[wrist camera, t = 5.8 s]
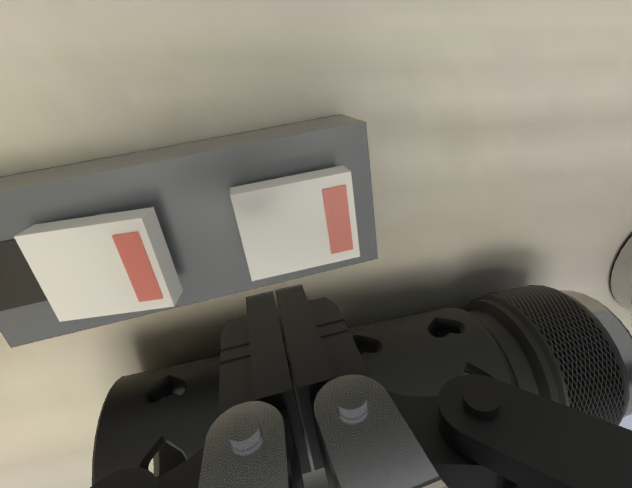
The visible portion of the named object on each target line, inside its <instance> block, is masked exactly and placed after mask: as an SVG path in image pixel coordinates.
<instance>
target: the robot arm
mask: <svg viewBox="0 0 632 488" xmlns="http://www.w3.org/2000/svg"><path fill="white" fill-rule="evenodd" d="M611 291H612V294H613V296H614V298H615V300H616V301H617V302H618V303H619V304H620V305H622V306H624V307H625V308H627V309H629V310H631V311H632V236H631V237H630V239H629V240H628V241H627V243H626V244H625V246H624V247H623V248H622V250H621V252H620V254H619V256H618V258H617V260H616V262H615V265H614V268H613V271H612V275H611ZM275 293H276V297H277V302H278V306H279V311H280V315H281V320H282V325H283V329H284V334H285V338H286V343H287V347H288V352H289V356H290V361H291V365H292V370H293V374H294V379H295V383H296V388H297V393H298V397H299V402H300V406H301V411H302V415H303V420H304V424H305V429H306V433H307V438H308V442H309V447H310V451H311V456H312V460H313V465H314V469H315V470H318V469H321V468H324V469H325V473H326V477H327V481H328V485H329V488H632V431H631V430H629V429H626V428H623V427H621V426H618V425H615V424H613V423H610V422H607V421H605V420H602V419H600V418H597V417H594V416H592V415H589V414H586V413H584V412H581V411H578V410H576V409H573V408H571V407H568V406H565V405H563V404H560V403H557V402H555V401H552V400H549V399H547V398H544V397H542V396H539V395H536V394H534V393H531V392H528V391H526V390H523V389H520V388H518V387H515V386H513V385H510V384H507V383H505V382H502V381H499V380H497V379H494V378H491V377H488V376H483V375H476V374H466V375H460V376H457V377H454V378H452V379H450V380H449V381H447V382H446V383H445V384H444V385H443V386H442V388H441V389H440V392H439V395H438V396H405V395H399V394H396V393H393V392H390V391H388V390H386V389H385V388H384V387H383V386H382V385H381V384H380V383H379V382H377V381H376V380H374V379H373V378H372V377H371V375H370V373H369V371H368V369H367V367H366V365H365V363H364V361H363V359H362V357H361V355H360V352H359V350H358V348H357V346H356V344H355V342H354V340H353V338H352V336H351V334H350V332H349V330H348V327H347V325H346V323H345V322H344V319H343V317H342V315H341V313H340V311H339V309H338V307H337V306H336V305H335V304H333V303H332V302H330V301H329V300H327V299H326V298H321V299H317V300H313V301H309V302H308V301H307V298H306V296H305V293H304V290H303V287H302V285H301V284H300V285H296V286H291V287H287V288H283V289H279V290H275ZM246 309H247V317H243V318H239V319H234V320H230V321H229V322H228V324H227V325H226V327H225V329H224V330H223V332H222V334H221V342H220V351H221V353H220V379H219V415H218V418H217V419H216V420H215V422H214V423H213V424H212V426H211V427H210V429H209V431H208V433H207V436H206V440H205V445H204V446H203V447H202V448H201V449H200V450H199V451H198V452H197V453H196V454H194V455H193V456H192V457H191V458H189V459H188V460H186V461H185V462H183V463H181V464H179V465H178V466H176V467H174V468H173V469H171V470H169V471H168V472H166V473H164V474H162V475H161V476H159V477H157V478H156V477H155V476H154V475H153V473H152V472H150V471H149V470H147V469H144V468H139V467H131V468H125V469H121V470H119V471H116V472H113V473H111V474H109V475H108V476H106V477H104V478H103V479H101V480H99V481H98V482H97V483H95V484H94V485H93V486H92V487H90V488H304V482H303V477H302V474H305V473H309V472H312V471H311V466H310V461H309V457H308V452H307V447H306V443H305V438H304V433H303V429H302V424H301V419H300V414H299V410H298V405H297V400H296V396H295V391H294V386H293V382H292V377H291V372H290V368H289V363H288V358H287V354H286V349H285V344H284V340H283V335H282V331H281V326H280V322H279V317H278V313H277V308H276V304H275V299H274V295H273V291H270V292H266V293H262V294H258V295H253V296H249V297H246Z"/></svg>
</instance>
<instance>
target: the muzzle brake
mask: <svg viewBox="0 0 632 488" xmlns="http://www.w3.org/2000/svg"><path fill="white" fill-rule="evenodd" d="M348 330H349V332H350V334H351V336H352V338H353V340H354V342H355V344H356V346H357V348H358V350H359V352H360V355H361V357H362V359H363V361H364V363H365V365H366V367H367V369H368V371H369V373H370V375H371V377H372V378H373V379H374V380H376V381H377V382H379V383H380V384H381V385H382V386H383V387H384V388H385V389H386V390H388V391H390V392H393V393H396V394H399V395H405V396H438V395H439V392H440V389H441V388H442V386H443V385H444V384H445V383H446V382H447V381H449V380H450V379H452V378H454V377H457V376H460V375H466V374H476V375H483V376H488V377H491V378H494V379H497V380H499V381H502V382H505V383H507V384H510V385H513V386H515V387H518V388H520V389H523V390H526V391H528V392H531V393H534V394H536V395H539V396H542V397H544V398H547V399H549V400H552V401H555V402H557V403H560V404H563V405H565V406H568V407H571V408H573V409H576V410H578V411H581V412H584V413H586V414H589V415H592V416H594V417H597V418H600V419H602V420H605V421H607V422H610V423H613V424H615V425H618V426H619V424H620V422H621V421H622V418H623V417H625V416H628V415H630V414H632V336H631V335H630V333H629V331H628V330H627V329H626V327H625V326H624V325H623V324H622V322H621V321H620V320H619V319H618V318H617V317H616V316H615V315H614V314H613V313H612V312H611V311H610V310H609V309H608V308H607V307H605V306H604V305H602V304H601V303H600V302H598V301H597V300H595V299H593V298H591V297H589V296H587V295H585V294H582V293H578V292H574V291H566V290H560V291H559V290H556V289H553V288H550V287H546V286H538V285H530V286H525V287H520V288H516V289H511V290H506V291H501V292H497V293H492V294H487V295H483V296H479V297H477V298H476V299H474V300H473V301H471V303H469V304H468V305H466V306H465V307H464V308H463V309H459V308H454V307H447V308H443V309H438V310H433V311H428V312H424V313H419V314H414V315H410V316H405V317H400V318H395V319H391V320H386V321H381V322H377V323H372V324H367V325H363V326H358V327H353V328H348ZM284 344H285V349H286V354H287V358H288V363H289V368H290V372H291V377H292V382H293V386H294V391H295V396H296V400H297V405H298V410H299V414H300V419H301V424H302V429H303V433H304V438H305V443H306V447H307V452H308V457H309V461H310V466H311V471H312V472H309V473H305V474H302V477H303V482H304V488H329V485H328V481H327V477H326V473H325V469H324V468H321V469H318V470H315V469H314V465H313V460H312V456H311V451H310V447H309V442H308V438H307V433H306V429H305V424H304V420H303V415H302V411H301V406H300V402H299V397H298V393H297V388H296V383H295V379H294V374H293V370H292V365H291V361H290V356H289V352H288V347H287V343H286V342H284ZM219 379H220V356H217V357H212V358H207V359H203V360H198V361H193V362H189V363H184V364H179V365H175V366H170V367H165V368H160V369H156V370H151V371H146V372H142V373H137V374H132V375H127V376H123V377H121V378H120V379H118V380H117V381H116V382H115V383H114V385H113V386H112V388H111V389H110V391H109V392H108V394H107V397H106V399H105V401H104V404H103V406H102V410H101V413H100V416H99V420H98V425H97V430H96V435H95V442H94V451H93V460H92V486H93V485H94V484H95V483H97V482H98V481H99V480H101V479H103V478H104V477H106V476H108V475H109V474H111V473H113V472H116V471H119V470H121V469H125V468H131V467H139V468H144V469H147V470H148V466H149V463H150V461H151V459H152V458H153V459H154V476H155V477H156V478H157V477H159V476H161V475H162V474H164V473H166V472H168V471H169V470H171V469H173V468H174V467H176V466H178V465H179V464H181V463H183V462H185V461H186V460H188V459H189V458H191V457H192V456H193V455H194V454H196V453H197V452H198V451H199V450H200V449H201V448H202V447H203V446H204V445H205V440H206V436H207V433H208V431H209V429H210V427H211V426H212V424H213V423H214V422H215V420H216V419H217V418H218V415H219Z"/></svg>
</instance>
